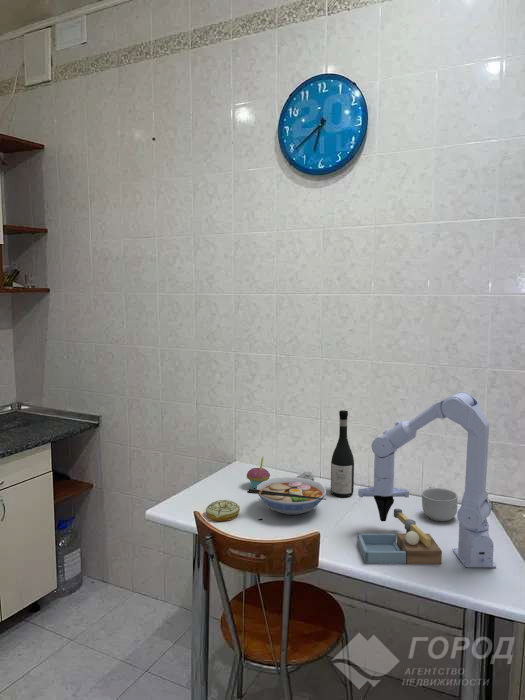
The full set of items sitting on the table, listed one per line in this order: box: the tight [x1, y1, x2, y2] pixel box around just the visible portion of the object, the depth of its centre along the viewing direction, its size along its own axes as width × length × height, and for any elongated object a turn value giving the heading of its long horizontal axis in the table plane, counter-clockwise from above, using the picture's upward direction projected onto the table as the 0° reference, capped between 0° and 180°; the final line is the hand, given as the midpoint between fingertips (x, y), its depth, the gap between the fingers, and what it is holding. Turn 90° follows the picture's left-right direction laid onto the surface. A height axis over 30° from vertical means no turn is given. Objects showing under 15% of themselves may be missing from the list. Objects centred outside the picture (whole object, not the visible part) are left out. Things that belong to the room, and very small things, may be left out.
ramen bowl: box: [246, 476, 327, 516], centre depth 165 cm, size 25×23×8 cm
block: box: [396, 529, 443, 565], centre depth 138 cm, size 12×9×4 cm
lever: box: [393, 508, 431, 546], centre depth 142 cm, size 20×3×2 cm, turn 10°
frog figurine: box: [296, 471, 315, 481], centre depth 183 cm, size 6×7×7 cm
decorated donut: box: [205, 499, 241, 522], centre depth 161 cm, size 10×11×4 cm
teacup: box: [420, 485, 459, 522], centre depth 162 cm, size 14×11×8 cm
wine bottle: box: [330, 410, 355, 498], centre depth 179 cm, size 8×8×30 cm
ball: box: [405, 531, 419, 545], centre depth 135 cm, size 4×4×4 cm
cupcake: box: [246, 456, 271, 489], centre depth 185 cm, size 9×8×12 cm
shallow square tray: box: [357, 533, 407, 565], centre depth 137 cm, size 11×11×3 cm
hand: (382, 519), depth 150 cm, fingers closed
